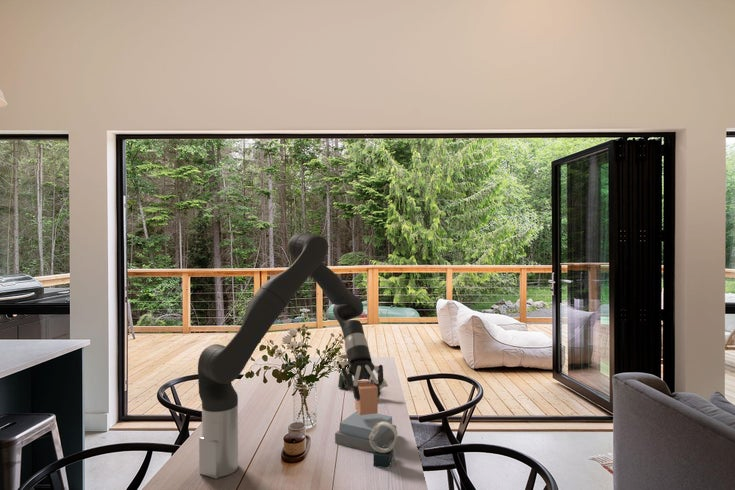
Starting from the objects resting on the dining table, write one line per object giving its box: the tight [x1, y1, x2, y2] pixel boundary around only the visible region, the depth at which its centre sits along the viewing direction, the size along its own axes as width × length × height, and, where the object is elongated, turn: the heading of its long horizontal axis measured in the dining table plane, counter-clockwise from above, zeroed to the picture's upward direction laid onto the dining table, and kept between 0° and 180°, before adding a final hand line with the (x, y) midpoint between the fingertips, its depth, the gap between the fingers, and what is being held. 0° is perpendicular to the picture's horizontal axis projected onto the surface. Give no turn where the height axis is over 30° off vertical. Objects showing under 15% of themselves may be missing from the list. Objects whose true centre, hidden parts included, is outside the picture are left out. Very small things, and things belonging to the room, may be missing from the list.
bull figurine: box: [358, 377, 389, 391], centre depth 182 cm, size 4×13×8 cm, turn 89°
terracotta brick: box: [354, 382, 379, 415], centre depth 146 cm, size 6×6×8 cm
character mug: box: [332, 353, 354, 390], centre depth 195 cm, size 11×7×13 cm, turn 74°
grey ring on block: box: [369, 421, 399, 468], centre depth 132 cm, size 6×8×11 cm
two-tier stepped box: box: [334, 410, 397, 454], centre depth 147 cm, size 14×14×6 cm
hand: (368, 398), depth 145 cm, fingers closed on terracotta brick, 5 cm apart
